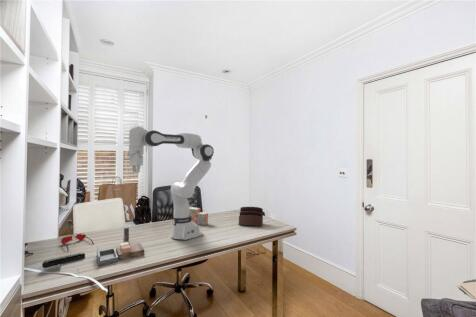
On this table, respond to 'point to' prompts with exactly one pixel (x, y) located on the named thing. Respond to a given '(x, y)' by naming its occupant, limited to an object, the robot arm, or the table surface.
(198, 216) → the stack of blocks
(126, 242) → the tile
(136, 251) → the brown square slab
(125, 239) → the grey block with handle
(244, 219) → the brown lidded box
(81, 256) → the portable electronic device stand
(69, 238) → the glasses
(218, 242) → the table surface
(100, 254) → the box
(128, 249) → the tile
